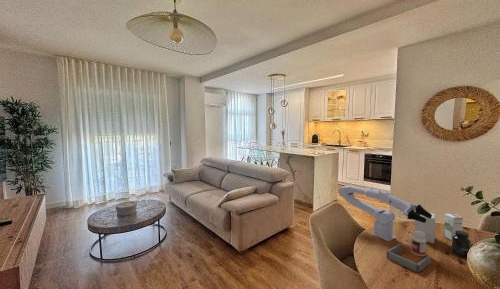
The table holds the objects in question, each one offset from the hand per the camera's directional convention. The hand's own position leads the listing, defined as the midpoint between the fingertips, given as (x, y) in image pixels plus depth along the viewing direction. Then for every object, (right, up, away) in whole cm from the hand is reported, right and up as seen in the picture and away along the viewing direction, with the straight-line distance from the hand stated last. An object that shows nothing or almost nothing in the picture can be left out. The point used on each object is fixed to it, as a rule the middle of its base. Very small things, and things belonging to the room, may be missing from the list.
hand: (428, 219), depth 110 cm
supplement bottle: (+16, -19, -1) cm, 25 cm away
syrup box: (+27, -17, +15) cm, 35 cm away
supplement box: (+11, -18, +16) cm, 26 cm away
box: (-14, -19, -4) cm, 24 cm away
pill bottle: (-4, -19, +1) cm, 20 cm away
